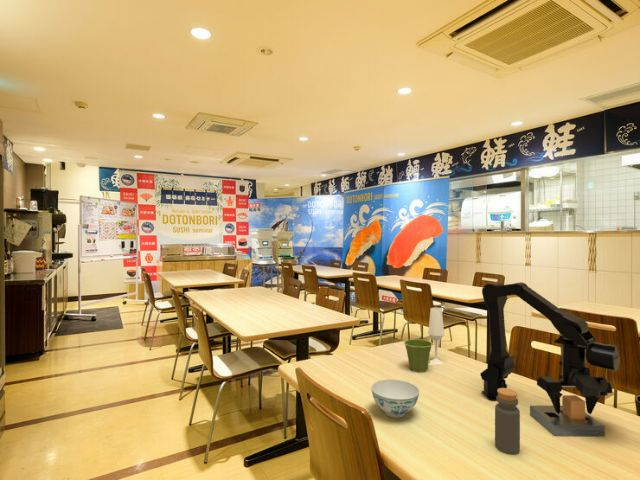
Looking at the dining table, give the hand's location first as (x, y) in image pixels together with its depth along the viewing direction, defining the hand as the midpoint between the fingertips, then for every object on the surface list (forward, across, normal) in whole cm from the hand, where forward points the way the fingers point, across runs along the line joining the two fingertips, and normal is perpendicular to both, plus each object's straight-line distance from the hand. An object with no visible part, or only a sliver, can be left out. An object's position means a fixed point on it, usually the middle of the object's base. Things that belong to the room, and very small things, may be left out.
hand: (573, 413), depth 107 cm
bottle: (+4, -26, -12) cm, 28 cm away
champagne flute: (+4, -24, +53) cm, 58 cm away
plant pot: (+4, -34, +45) cm, 57 cm away
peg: (+4, 0, 0) cm, 4 cm away
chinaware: (+4, -52, +7) cm, 52 cm away
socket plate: (+4, -2, 0) cm, 4 cm away
